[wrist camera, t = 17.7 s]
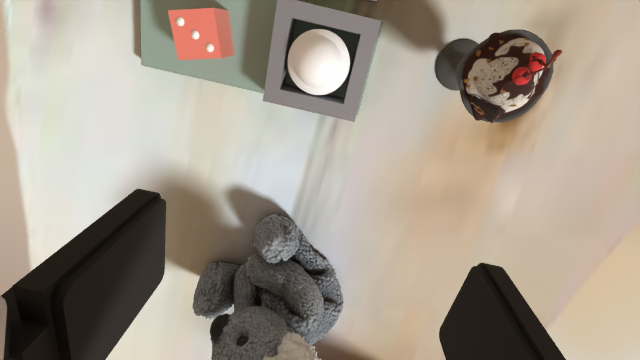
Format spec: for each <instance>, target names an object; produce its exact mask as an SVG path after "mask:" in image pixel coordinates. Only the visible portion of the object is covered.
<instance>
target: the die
mask: <svg viewBox="0 0 640 360" xmlns="http://www.w3.org/2000/svg"><path fill="white" fill-rule="evenodd" d="M168 14H169V19H170V23H171V28H172V33H173V38H174V42H175V47H176V52H177V56H178V60H193V59H214V58H224V57H229V56H233V55H235V54H234V47H233V40H232V34H231V27H230V20H229V13H228V10H223V9H218V8H201V9H184V10H168Z"/></svg>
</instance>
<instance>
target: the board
mask: <svg viewBox="0 0 640 360" xmlns="http://www.w3.org/2000/svg"><path fill="white" fill-rule="evenodd" d="M140 7H141V65H143V66H147V67H151V68H156V69H160V70H164V71H169V72H173V73H177V74H182V75H186V76H191V77H195V78H199V79H204V80H208V81H212V82H217V83H221V84H225V85H230V86H234V87H238V88H243V89H247V90H251V91H256V92H260V93H264V97H263V101H266V102H270V103H275V104H279V105H283V106H288V107H292V108H296V109H301V110H305V111H310V112H314V113H318V114H323V115H327V116H331V117H336V118H340V119H345V120H349V121H353V122H354V121H355V117H356V115H358V112H359V108H360V105H361V101H362V97H363V93H364V90H365V86H366V82H367V78H368V75H369V71H370V67H371V64H372V60H373V56H374V52H375V49H376V45H377V41H378V37H379V34H380V30H381V26H382V23H381V21H380V20H376V19H372V18H368V17H364V16H360V15H356V14H351V13H347V12H343V11H339V10H335V9H331V8H327V7H322V6H318V5H314V4H310V3H306V2H302V1H298V0H140ZM201 8H218V9H223V10H228V13H229V20H230V27H231V34H232V40H233V47H234V54H235V55H233V56H229V57H224V58H214V59H193V60H178V56H177V52H176V47H175V42H174V38H173V33H172V28H171V23H170V19H169V14H168V10H184V9H201ZM313 29H324V30H329V31H331V32H333V33H335V34H336V35H338V36H339V37H340V38H341V39H342V40H343V42H344V43H345V45H346V47H347V50H348V53H349V57H350V67H349V72H348V75H347V77H346V79H345V81H344V82H343V83H342V85H341V86H340V87H339V88H337V89H336V90H335V91H333V92H331V93H328V94H325V95H313V94H309V93H307V92H305V91H303V90H301V89H300V88H299V87H298V86H297V85H296V84H295V83H294V81H293V80H292V78H291V76H290V73H289V70H288V54H289V50H290V48H291V46H292V44H293V42H294V41H295V40H296V39H297V38H298V37H299V36H300V35H301V34H303V33H305V32H307V31H309V30H313Z"/></svg>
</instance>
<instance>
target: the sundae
mask: <svg viewBox="0 0 640 360" xmlns="http://www.w3.org/2000/svg"><path fill="white" fill-rule="evenodd" d="M561 53H562V51H561V50H556V51H555V52H554V53H553V54H552V53H551V52H550V50H549V48H548V46H547V45H546V44H545V42H544V41H543V40H542V39H541V38H539V37H538V36H537V35H535V34H533V33H531V32H529V31H526V30H508V31H504V32H501V33H493V34H491V35H490V36H489V38H488V39H486V40H484V41H483V42H481V43H480V44H478V43H476V42H474V41H472V40H467V39H462V40H458V41H455V42H453V43H451V44H449V45H448V46H447V47H446V48H445V49H444V50H443V51H442V52H441V54H440V55H439V57H438V59H437V63H436V75H437V78H438V80H439V81H440V83H441V84H442V85H443V86H444V87H446V88H448V89H450V90H460V94H461V98H462V102H463V104H464V106H465V107H466V109H467V110H468V112H469V113H470V114H471V115H473V116H474V118H475V120H483V121H486V122H491V123H493V122H506V121H510V120H513V119H515V118H518V117H520V116H522V115H523V114H525V113H526V112H527V111H529V110H530V109H531V108H532V107H533V106H534V105H535V104H536V102H537V101H538V100H539V99H540V97H541V96H542V95H543V93H544V92H545V90H546V89H547V87H548V85H549V82H550V80H551V77H552V74H553V62H555V60H556V57H558V56H559V55H560V54H561Z"/></svg>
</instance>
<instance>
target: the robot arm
mask: <svg viewBox="0 0 640 360" xmlns="http://www.w3.org/2000/svg"><path fill="white" fill-rule="evenodd" d="M165 222H166V202H165V200H164V199H161V196H160V194H159V193H156V192H151V191H147V190H142V189H137V190H135V191H134V192H132V193H131V194H130V195H128V196H127V197H126V198H125V199H123V200H122V201H121V202H119V203H118V204H117V205H116V206H114V207H113V208H112V209H111V210H109V211H108V212H107V213H105V214H104V215H103V216H102V217H100V218H99V219H98V220H96V221H95V222H94V223H93V224H91V225H90V226H89V227H87V228H86V229H85V230H84V231H82V232H81V233H80V234H78V235H77V236H76V237H75V238H73V239H72V240H71V241H69V242H68V243H67V244H66V245H64V246H63V247H62V248H60V249H59V250H58V251H57V252H55V253H54V254H53V255H51V256H50V257H49V258H48V259H46V260H45V261H44V262H43V263H41V264H40V265H39V266H37V267H36V268H35V269H34V270H32V271H31V272H30V273H28V274H27V275H26V276H25V277H24V278H22V279H21V280H19V281H18V282H17V283H16V284H14V285H13V287H12V288H10V289H9V290H8V291H6V292H5V293H4V294H3V295H1V296H0V360H105V359H106V358H107V357H108V355H109V354H110V352H111V351H112V350H113V348H114V347H115V345H116V344H117V343H118V341H119V340H120V338H121V337H122V336H123V334H124V333H125V331H126V330H127V329H128V327H129V326H130V324H131V323H132V322H133V320H134V319H135V317H136V316H137V315H138V313H139V312H140V310H141V309H142V308H143V306H144V305H145V303H146V302H147V301H148V299H149V298H150V296H151V295H152V294H153V292H154V291H155V289H156V288H157V287H158V285H159V284H160V282H161V280H162V278H163V275H164V270H165ZM439 338H440V342H441V345H442V348H443V352H444V355H445V358H446V360H566V359H565V358H564V357H563V355H562V353H561V352H560V350H559V349H558V347H557V346H556V345H555V343H554V342H553V340H552V339H551V337H550V336H549V334H548V333H547V331H546V330H545V328H544V327H543V326H542V324H541V323H540V321H539V320H538V318H537V317H536V315H535V314H534V312H533V311H532V309H531V308H530V307H529V305H528V304H527V302H526V301H525V299H524V298H523V296H522V295H521V293H520V292H519V291H518V289H517V288H516V286H515V285H514V283H513V282H512V280H511V279H510V277H509V276H508V274H507V273H506V272H505V270H504V269H503V268H502V267H499V266H495V265H490V264H486V263H480V264H479V265H477V266H474V267H472V268H471V270H470V272H469V274H468V276H467V278H466V280H465V281H464V283H463V285H462V287H461V289H460V291H459V293H458V295H457V297H456V299H455V301H454V303H453V305H452V306H451V308H450V310H449V312H448V314H447V316H446V318H445V320H444V322H443V324H442V326H441V328H440V332H439Z"/></svg>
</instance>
